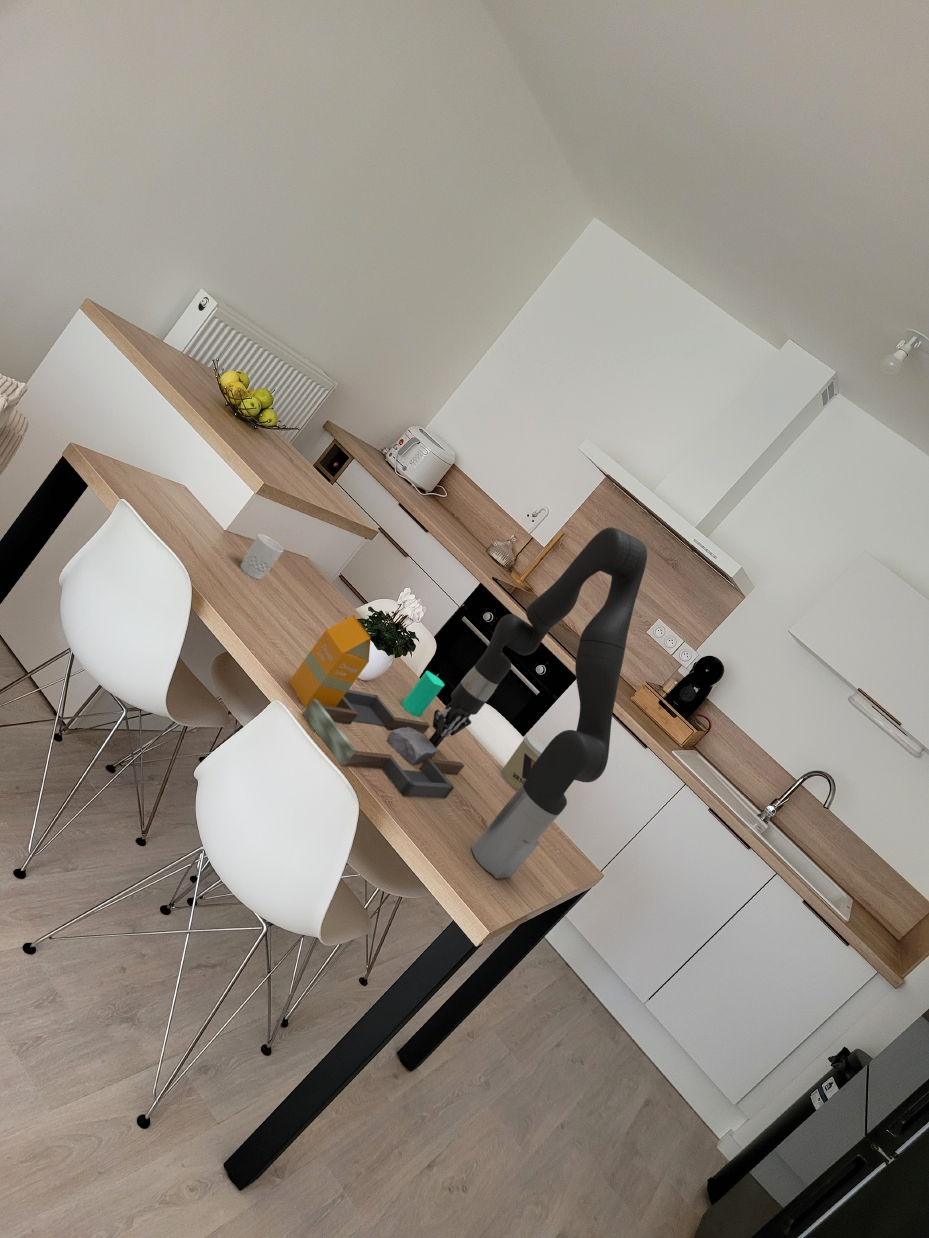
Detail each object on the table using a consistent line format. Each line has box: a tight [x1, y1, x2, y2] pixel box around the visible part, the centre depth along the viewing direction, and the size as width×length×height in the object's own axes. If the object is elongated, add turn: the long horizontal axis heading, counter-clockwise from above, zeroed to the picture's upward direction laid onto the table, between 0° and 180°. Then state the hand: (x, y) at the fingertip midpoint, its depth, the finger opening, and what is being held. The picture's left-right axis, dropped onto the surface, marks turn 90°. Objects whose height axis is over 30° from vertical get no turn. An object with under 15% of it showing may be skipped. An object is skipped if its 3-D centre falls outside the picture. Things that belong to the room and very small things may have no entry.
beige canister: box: [500, 734, 547, 791], centre depth 214 cm, size 9×9×12 cm
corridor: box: [302, 699, 465, 776], centre depth 181 cm, size 15×41×4 cm, turn 137°
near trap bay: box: [381, 757, 455, 799], centre depth 175 cm, size 8×15×3 cm, turn 137°
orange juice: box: [288, 614, 372, 708], centre depth 176 cm, size 8×9×20 cm
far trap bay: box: [336, 689, 396, 727], centre depth 188 cm, size 8×15×3 cm, turn 137°
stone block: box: [386, 727, 439, 766], centre depth 188 cm, size 12×5×10 cm
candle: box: [401, 670, 445, 718], centre depth 210 cm, size 6×6×12 cm
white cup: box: [239, 533, 284, 581], centre depth 221 cm, size 8×8×10 cm
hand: (431, 745), depth 194 cm, fingers closed
